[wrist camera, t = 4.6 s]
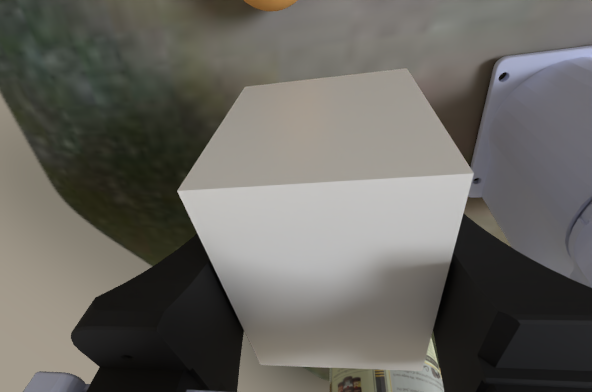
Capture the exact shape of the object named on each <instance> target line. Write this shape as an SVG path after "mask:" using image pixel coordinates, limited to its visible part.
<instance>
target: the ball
mask: <svg viewBox="0 0 592 392" xmlns="http://www.w3.org/2000/svg"><path fill="white" fill-rule="evenodd" d="M244 1H245V2H246V3H248V4H249V5H251V6H253V7H254V8H257V9H259V10H263V11H279V10H282V9H285V8H287V7H289V6H291V5H292V4H294V3H295V2H296V1H297V0H244Z"/></svg>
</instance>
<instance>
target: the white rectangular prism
mask: <svg viewBox="0 0 592 392" xmlns="http://www.w3.org/2000/svg"><path fill="white" fill-rule="evenodd" d="M473 175H474V173H473V171H472V170H471V168H470V167H469V165H468V163H467V162H466V160H465V159H464V157H463V156H462V154H461V152H460V151H459V149H458V148H457V146H456V145H455V143H454V141H453V140H452V138H451V137H450V135H449V134H448V132H447V130H446V129H445V127H444V126H443V124H442V123H441V121H440V120H439V118H438V116H437V115H436V113H435V112H434V110H433V109H432V107H431V105H430V104H429V102H428V101H427V99H426V98H425V96H424V94H423V93H422V91H421V90H420V88H419V87H418V85H417V83H416V82H415V80H414V79H413V77H412V76H411V74H410V72H409V71H408V69H407V68H405V69H396V70H388V71H379V72H370V73H361V74H353V75H344V76H335V77H326V78H318V79H309V80H300V81H292V82H283V83H274V84H265V85H257V86H248V87H244V89H243V91H242V92H241V94H240V95H239V97H238V98H237V100H236V101H235V103H234V104H233V106H232V107H231V109H230V110H229V112H228V114H227V115H226V117H225V118H224V120H223V121H222V123H221V124H220V126H219V127H218V129H217V130H216V132H215V134H214V135H213V137H212V138H211V140H210V141H209V143H208V144H207V146H206V147H205V149H204V150H203V152H202V154H201V155H200V157H199V158H198V160H197V161H196V163H195V164H194V166H193V167H192V169H191V170H190V172H189V173H188V175H187V177H186V178H185V180H184V181H183V183H182V184H181V186H180V187H179V189H178V190H177V192H178V194H179V196H180V198H181V200H182V202H183V204H184V206H185V208H186V211H187V213H188V215H189V217H190V219H191V221H192V223H193V225H194V227H195V229H196V231H197V233H198V236H199V238H200V240H201V242H202V244H203V246H204V248H205V250H206V252H207V254H208V256H209V259H210V261H211V263H212V265H213V267H214V269H215V271H216V273H217V275H218V277H219V279H220V281H221V284H222V286H223V288H224V290H225V292H226V294H227V296H228V298H229V300H230V302H231V304H232V306H233V309H234V311H235V313H236V315H237V317H238V319H239V321H240V323H241V325H242V327H243V329H244V332H245V333H246V336H247V338H248V340H249V342H250V344H251V346H252V348H253V350H254V352H255V354H256V356H257V359H258V361H259V363H260V364H261V365H276V366H302V367H328V368H354V369H380V370H406V371H422V370H423V366H424V362H425V358H426V354H427V350H428V347H429V343H430V339H431V335H432V331H433V328H434V324H435V320H436V316H437V312H438V308H439V305H440V301H441V297H442V293H443V289H444V286H445V282H446V278H447V274H448V270H449V266H450V263H451V259H452V255H453V251H454V247H455V244H456V240H457V236H458V232H459V228H460V224H461V221H462V217H463V213H464V209H465V205H466V201H467V198H468V194H469V190H470V186H471V182H472V179H473Z"/></svg>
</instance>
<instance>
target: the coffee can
mask: <svg viewBox="0 0 592 392" xmlns="http://www.w3.org/2000/svg"><path fill="white" fill-rule="evenodd" d="M330 392H444V387H443V382H442V378H441V374H440V371H439V366H438V362H437V359H436V355H435V351H434V347H433V343H432V339H430V343H429V347H428V350H427V354H426V358H425V362H424V366H423V370H422V371H406V370H380V369H354V368H330Z"/></svg>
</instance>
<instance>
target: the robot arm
mask: <svg viewBox="0 0 592 392" xmlns="http://www.w3.org/2000/svg"><path fill="white" fill-rule="evenodd" d="M505 72H506V76H505V77H504V78H503V79H501V80H499V76H500V75H501V74H502V73H505ZM470 168H471V170H472V171H473V173H474V175H473V179H472V182H471V186H470V190H469V194H468V197H471V198H476V197H482V198H483V200H484V201H485V203H486V205H487V206H488V208H489V210H490V211H491V213H492V215H493V216H494V218H495V220H496V221H497V223H498V225H499V227H500V228H501V230H502V232H503V233H504V235H505V237H506V238H507V240H508V242H509V243H510V245H511V247H512V248H511V247H510V246H508V245H506V244H505V243H503V242H502V241H500V240H499V239H497V238H496V237H494V236H493V235H491V234H490V233H488V232H487V231H485V230H484V229H483V228H481V227H480V226H479V225H477V224H476V223H475V222H473V221H472V220H471V219H470V218H468V217H467V216H466V215H465V214H464V213H463V217H462V221H461V224H460V228H459V232H458V236H457V240H456V244H455V247H454V251H453V255H452V259H451V263H450V266H449V270H448V274H447V278H446V282H445V286H444V289H443V293H442V297H441V301H440V305H439V308H438V312H437V316H436V320H435V324H434V328H433V332H434V337H435V342H436V347H437V353H438V358H439V364H440V369H441V375H442V381H443V387H444V392H592V45H591V46H583V47H575V48H567V49H559V50H551V51H543V52H535V53H527V54H520V55H512V56H505V57H502V58H500V59H499V60H498V61H497V62H496V63H495V65H494V68H493V72H492V76H491V80H490V85H489V89H488V93H487V98H486V102H485V106H484V111H483V115H482V119H481V124H480V128H479V132H478V136H477V141H476V145H475V149H474V154H473V158H472V162H471V167H470ZM476 178H479V179H478V180H476V181H474V179H476ZM243 332H244V329H243V327H242V325H241V323H240V321H239V319H238V317H237V315H236V313H235V311H234V309H233V306H232V304H231V302H230V300H229V298H228V296H227V294H226V292H225V290H224V288H223V286H222V284H221V281H220V279H219V277H218V275H217V273H216V271H215V269H214V267H213V265H212V263H211V261H210V259H209V256H208V254H207V252H206V250H205V248H204V246H203V244H202V242H201V240H200V238H199V236H198V233H197V234H196V235H195V236H194V237H193V238H191V239H190V240H189V241H188V242H186V243H185V244H184V245H183V246H181V247H180V248H179V249H178V250H176V251H175V252H173V253H172V254H171V255H169V256H168V257H166V258H165V259H163V260H162V261H160V262H159V263H158V264H156V265H155V266H153V267H151V268H150V269H148V270H147V271H145V272H143V273H142V274H140V275H138V276H136V277H135V278H133V279H131V280H129V281H128V282H126V283H124V284H122V285H120V286H118V287H116V288H114V289H112V290H110V291H108V292H106V293H104V294H102V295H100V296H98V297H96V298H95V299H94V301H93V302H92V304H91V305H90V306H89V308H88V309H87V311H86V312H85V314H84V315H83V317H82V318H81V320H80V321H79V322H78V324H77V326H76V327H75V329H74V330H73V331H72V333H71V339H72V342H73V344H74V345H75V346H76V347H77V348H78V349H79V350H80V351H81V352H82V353H83V354H85V355H86V356H87V357H89V358H90V359H91V360H92V361H93V362H95V363H96V364H97V365H98V366H99V367H100V368H99V370H98V372H97V373H96V375H95V377H94V379H93V381H92V382H91V384H85V382H84V381H83V380H82V379H80V378H79V377H77V376H75V375H73V374H70V373H62V372H41V371H40V372H37V373H36V374H35V375H34V377H33V378H32V379H31V381H30V382H29V384H28V385H27V386H26V388H25V389H24V391H23V392H237V386H238V375H239V365H240V356H241V348H242V340H243Z"/></svg>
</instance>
